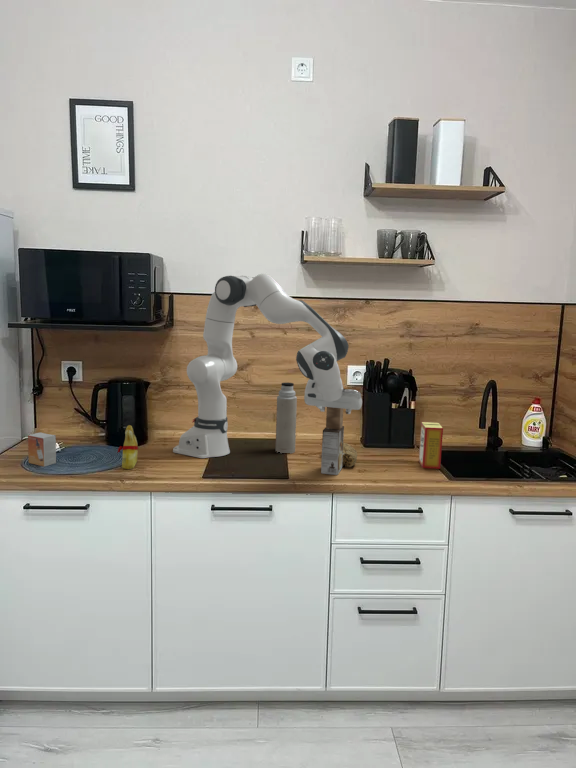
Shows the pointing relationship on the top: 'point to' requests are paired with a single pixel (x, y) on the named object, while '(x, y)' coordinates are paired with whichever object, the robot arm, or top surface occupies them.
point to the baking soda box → (430, 445)
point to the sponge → (349, 455)
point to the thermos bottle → (286, 419)
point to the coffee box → (332, 451)
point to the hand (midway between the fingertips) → (335, 411)
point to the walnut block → (334, 418)
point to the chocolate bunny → (129, 449)
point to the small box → (42, 449)
